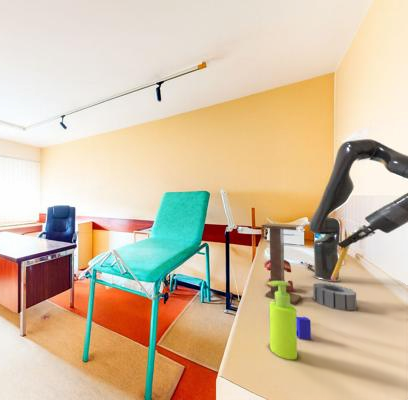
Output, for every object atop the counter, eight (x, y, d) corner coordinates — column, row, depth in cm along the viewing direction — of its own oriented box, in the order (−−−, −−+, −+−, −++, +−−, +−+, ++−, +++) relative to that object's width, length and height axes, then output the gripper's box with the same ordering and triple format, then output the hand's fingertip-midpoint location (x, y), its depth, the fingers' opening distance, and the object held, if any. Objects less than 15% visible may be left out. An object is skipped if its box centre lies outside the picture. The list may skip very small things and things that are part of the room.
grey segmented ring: (309, 294, 97) (309, 281, 97) (347, 300, 91) (347, 286, 91) (319, 306, 86) (319, 291, 86) (362, 313, 80) (362, 297, 80)
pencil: (335, 280, 88) (330, 279, 89) (335, 279, 89) (330, 278, 90) (353, 235, 83) (348, 234, 84) (353, 235, 84) (348, 233, 85)
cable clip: (272, 317, 78) (272, 301, 79) (286, 318, 78) (286, 302, 78) (294, 337, 67) (293, 318, 67) (310, 339, 66) (310, 320, 66)
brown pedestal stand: (263, 295, 96) (261, 224, 96) (271, 290, 102) (269, 223, 102) (297, 306, 86) (296, 227, 87) (304, 299, 92) (302, 225, 92)
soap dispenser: (261, 345, 63) (260, 278, 63) (283, 344, 64) (282, 277, 64) (279, 360, 57) (278, 286, 58) (303, 358, 58) (301, 285, 58)
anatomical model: (271, 289, 100) (267, 257, 106) (266, 290, 107) (263, 259, 113) (299, 293, 96) (294, 259, 102) (292, 293, 103) (288, 261, 108)
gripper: (379, 209, 83) (334, 236, 93) (376, 210, 75) (327, 240, 85) (402, 223, 79) (353, 251, 89) (402, 226, 71) (347, 256, 81)
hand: (340, 245), depth 87 cm, fingers closed on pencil, 1 cm apart
